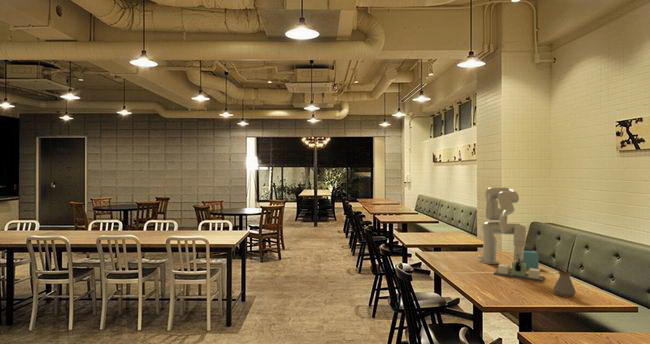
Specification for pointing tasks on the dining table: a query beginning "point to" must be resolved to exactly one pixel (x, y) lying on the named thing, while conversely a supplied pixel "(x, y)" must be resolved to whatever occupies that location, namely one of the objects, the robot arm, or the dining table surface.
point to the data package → (531, 259)
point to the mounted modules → (531, 272)
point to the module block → (520, 273)
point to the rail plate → (519, 276)
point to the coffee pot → (564, 284)
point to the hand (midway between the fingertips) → (518, 269)
